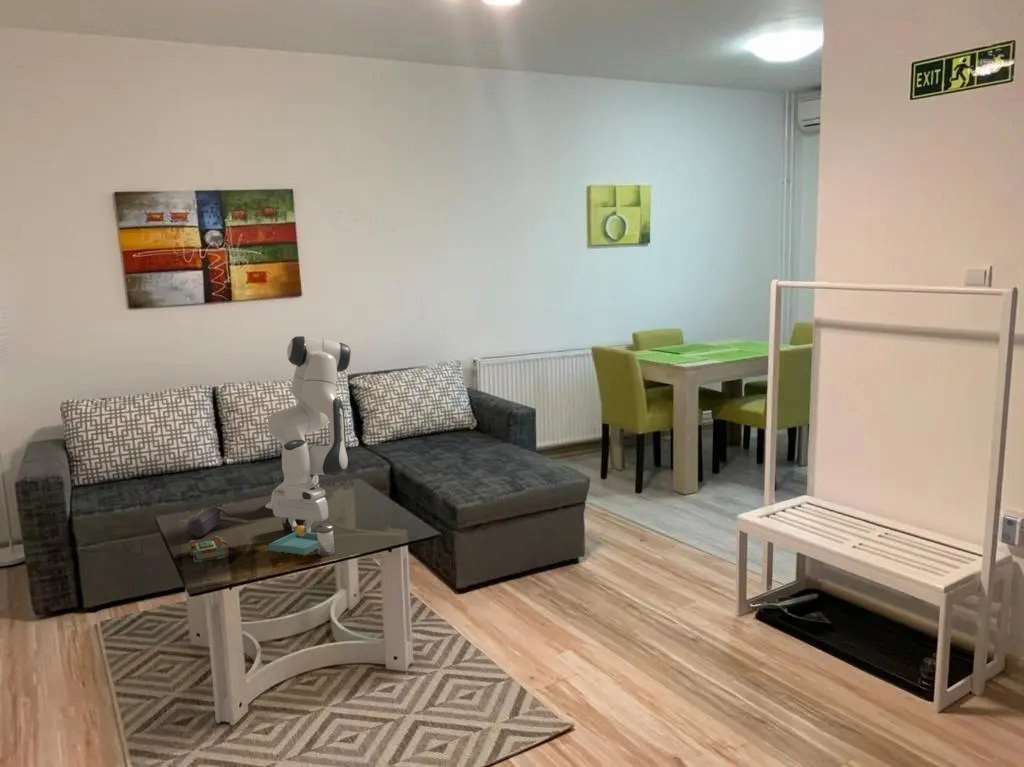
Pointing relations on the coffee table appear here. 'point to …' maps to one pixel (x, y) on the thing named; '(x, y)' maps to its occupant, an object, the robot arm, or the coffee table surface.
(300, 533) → the ball
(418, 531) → the coffee table surface
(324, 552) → the cup
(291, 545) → the tray
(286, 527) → the coffee mug
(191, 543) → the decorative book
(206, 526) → the glasses case
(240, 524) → the coffee table surface
